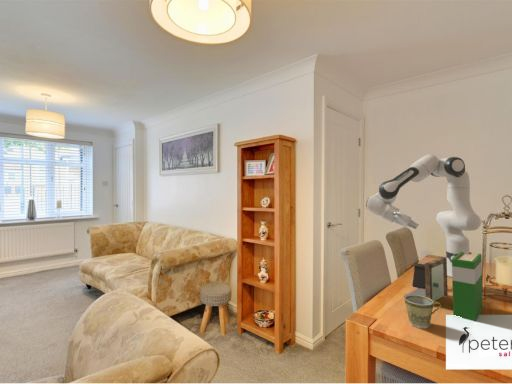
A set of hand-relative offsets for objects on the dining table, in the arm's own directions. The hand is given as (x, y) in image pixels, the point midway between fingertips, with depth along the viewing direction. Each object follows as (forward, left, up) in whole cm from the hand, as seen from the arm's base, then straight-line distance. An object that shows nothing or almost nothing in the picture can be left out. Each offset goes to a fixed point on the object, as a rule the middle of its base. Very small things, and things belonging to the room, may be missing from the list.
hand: (417, 227), depth 152 cm
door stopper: (+1, +2, -32) cm, 32 cm away
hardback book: (+18, +28, -32) cm, 47 cm away
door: (+15, +16, -32) cm, 39 cm away
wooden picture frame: (+15, +15, -32) cm, 39 cm away
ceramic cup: (+45, +22, -32) cm, 60 cm away
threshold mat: (+15, +9, -32) cm, 37 cm away
